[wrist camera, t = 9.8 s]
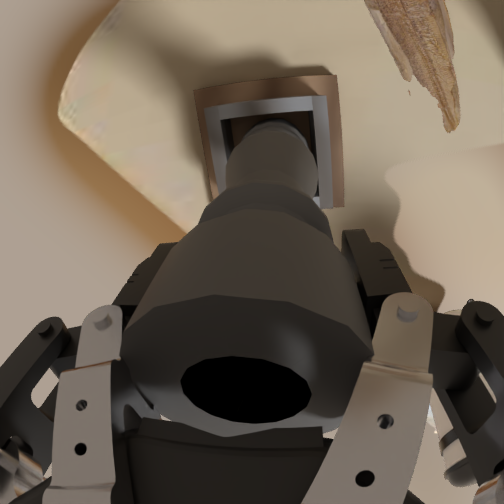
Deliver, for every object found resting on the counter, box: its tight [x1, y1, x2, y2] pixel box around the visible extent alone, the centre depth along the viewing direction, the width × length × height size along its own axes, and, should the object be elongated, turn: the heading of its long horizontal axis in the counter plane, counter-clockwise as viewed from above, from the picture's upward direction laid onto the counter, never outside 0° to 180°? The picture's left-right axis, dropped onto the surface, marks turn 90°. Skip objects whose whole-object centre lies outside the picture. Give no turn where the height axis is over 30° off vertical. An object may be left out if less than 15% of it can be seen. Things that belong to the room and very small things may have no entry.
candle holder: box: [119, 118, 375, 437], centre depth 16 cm, size 6×6×25 cm
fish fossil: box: [364, 0, 460, 133], centre depth 21 cm, size 26×10×1 cm, turn 26°
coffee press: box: [430, 299, 496, 487], centre depth 29 cm, size 17×16×30 cm
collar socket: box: [194, 75, 344, 209], centre depth 27 cm, size 14×14×6 cm
